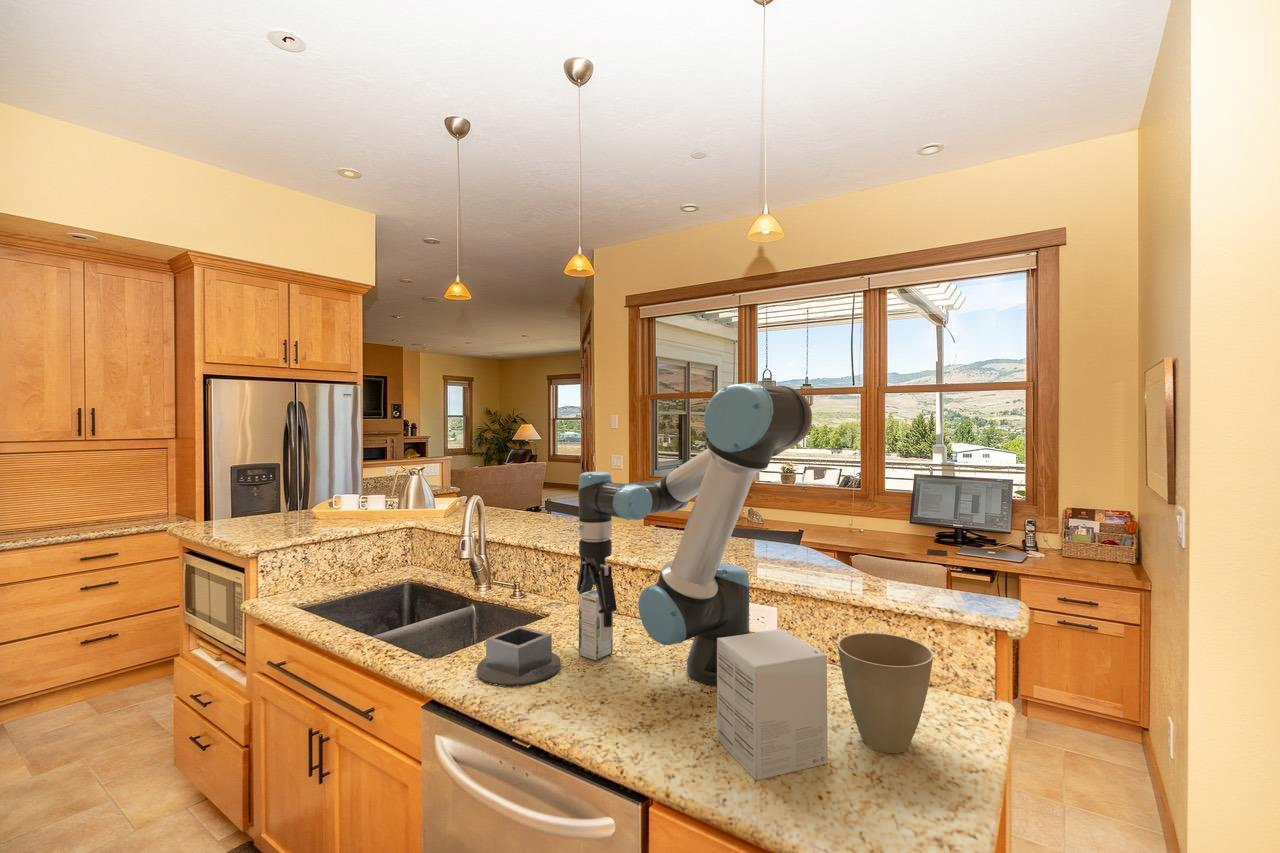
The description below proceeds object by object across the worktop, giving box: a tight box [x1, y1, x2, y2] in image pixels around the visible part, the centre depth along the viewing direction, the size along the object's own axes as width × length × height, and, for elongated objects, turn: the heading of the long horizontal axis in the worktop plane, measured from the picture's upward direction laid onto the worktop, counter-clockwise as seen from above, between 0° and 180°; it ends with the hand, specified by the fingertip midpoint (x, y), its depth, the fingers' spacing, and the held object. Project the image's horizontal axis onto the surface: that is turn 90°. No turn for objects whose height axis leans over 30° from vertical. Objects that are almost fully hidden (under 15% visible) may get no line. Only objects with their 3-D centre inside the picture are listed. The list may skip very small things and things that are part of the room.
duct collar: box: [476, 625, 562, 687], centre depth 134 cm, size 18×18×7 cm
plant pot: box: [837, 632, 934, 754], centre depth 102 cm, size 15×15×16 cm
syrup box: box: [578, 588, 614, 661], centre depth 141 cm, size 6×6×14 cm
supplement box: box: [716, 628, 829, 781], centre depth 100 cm, size 13×13×18 cm
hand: (595, 631), depth 141 cm, fingers open, 12 cm apart
